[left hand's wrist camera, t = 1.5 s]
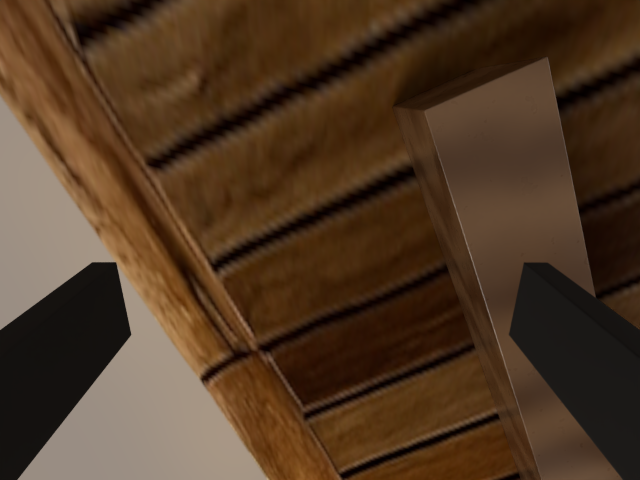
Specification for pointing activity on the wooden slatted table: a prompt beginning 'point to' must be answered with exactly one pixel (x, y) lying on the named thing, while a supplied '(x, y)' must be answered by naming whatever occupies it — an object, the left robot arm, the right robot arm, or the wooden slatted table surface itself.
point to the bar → (505, 238)
